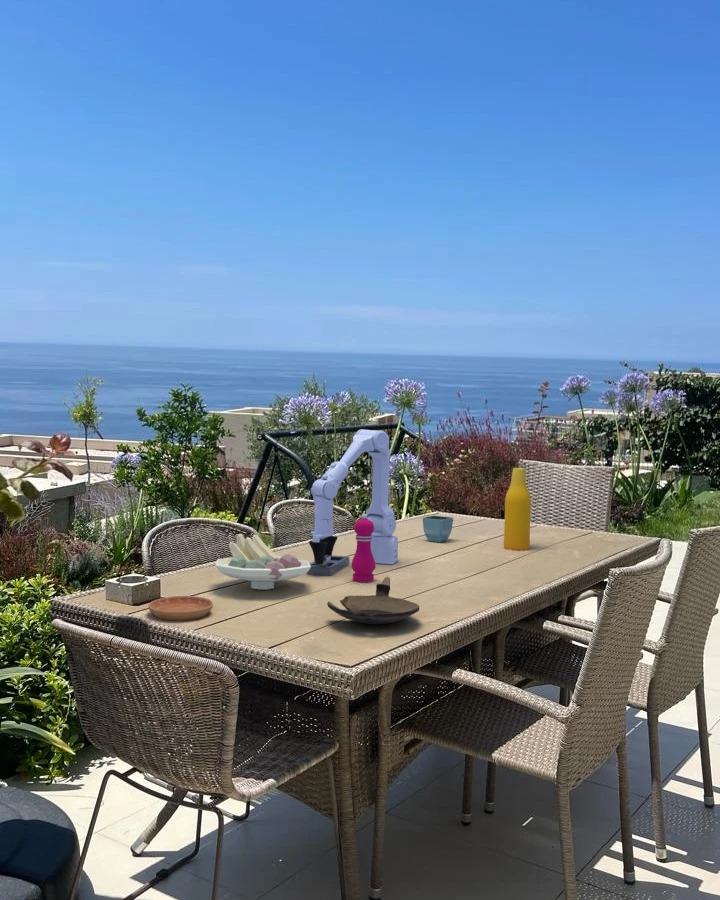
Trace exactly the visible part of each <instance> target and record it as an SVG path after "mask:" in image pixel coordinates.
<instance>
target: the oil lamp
mask: <svg viewBox="0 0 720 900" xmlns="http://www.w3.org/2000/svg"><path fill="white" fill-rule="evenodd" d="M375 587H376V588H375V595H374V594H373V595H346V596H345V597H344V598H342V599H340V600H339V602H340V604H341V605H342V606H343V607H344V608H345V609H343V608H341V609H340V608H339V606H336V605H335V604H334V603H332V602H331V601H327V607H328V608H329V609H330V610H331V611H333V612H334V613H336V614H338V615H339V616H341V617H342V618H344V619H347V620H350V621H352V622H355V623H359V624H360V623H361V624H366V625H387V624H392V623H395V622H398V621H402V620H403V619H407V618H408V617H410V616H413V615H415V614H417V613H418V612H420V605H419V604H418V603H415V602H413V601H410V600H406V599H403V598H399V597H398V598H397V597H392V596H389V595H390V591H391V578H390V577H389V576H385V577H384V578H383V579H382V582H381V583H376V585H375Z"/></svg>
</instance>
